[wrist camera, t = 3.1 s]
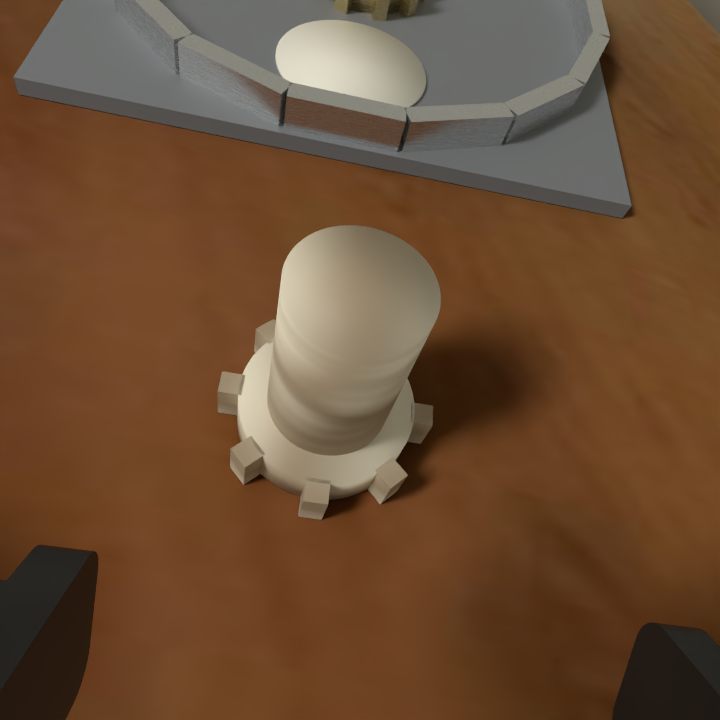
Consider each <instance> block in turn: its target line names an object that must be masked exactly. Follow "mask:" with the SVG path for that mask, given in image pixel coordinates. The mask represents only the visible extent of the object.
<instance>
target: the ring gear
mask: <svg viewBox="0 0 720 720" xmlns="http://www.w3.org/2000/svg"><path fill="white" fill-rule="evenodd" d="M561 2H562V3H563V4H564V6H565V7H566V8H567V9H568V11H569V12H570V17H571V22H572V27H573V32H574V38H575V43H576V48H577V53H578V59H577V60H576V62H575V64H574V66H573V67H572V69H571V71H570V72H569V74H568V75H565V76H563V77H561V78H559V79H556V80H554V81H552V82H550V83H547V84H545V85H543V86H541V87H538V88H536V89H534V90H532V91H529V92H527V93H525V94H523V95H520V96H518V97H516V98H514V99H511V100H509V101H507V102H504V103H486V104H464V105H442V106H420V107H402V106H398V105H393V104H388V103H384V102H379V101H375V100H370V99H365V98H361V97H356V96H352V95H347V94H342V93H338V92H333V91H329V90H324V89H319V88H315V87H310V86H306V85H301V84H297V83H292V82H290V81H288V80H286V79H284V78H282V77H280V76H278V75H276V74H274V73H272V72H270V71H268V70H266V69H264V68H262V67H260V66H258V65H256V64H254V63H252V62H250V61H247V60H245V59H243V58H241V57H239V56H237V55H235V54H233V53H231V52H229V51H227V50H225V49H223V48H221V47H219V46H217V45H215V44H213V43H211V42H209V41H207V40H205V39H203V38H201V37H199V36H197V35H195V34H193V33H192V32H191V31H190V30H189V29H188V28H187V27H186V26H185V25H184V24H183V23H182V22H181V21H180V20H179V19H178V18H177V17H176V16H175V15H174V14H173V13H172V12H171V11H170V10H169V9H168V8H167V7H166V6H165V5H164V4H163V3H162V2H161V1H160V0H114V5H115V9H117V13H118V14H119V15H120V16H121V17H122V18H123V19H124V20H125V21H126V22H127V23H128V24H129V25H130V26H131V27H132V28H133V29H134V31H135V32H136V33H137V34H138V35H139V36H140V37H141V38H142V39H143V40H144V41H145V42H146V43H147V44H148V45H149V46H150V47H151V48H152V49H153V50H154V51H155V52H156V54H157V55H158V56H159V57H160V58H161V59H162V60H163V61H164V62H165V63H166V64H167V65H168V66H169V67H170V68H171V69H172V70H173V71H174V72H175V73H176V74H178V73H180V77H181V78H183V79H185V80H187V81H189V82H191V83H193V84H195V85H197V86H199V87H201V88H203V89H205V90H207V91H209V92H211V93H213V94H215V95H217V96H219V97H221V98H223V99H225V100H227V101H229V102H231V103H233V104H235V105H237V106H239V107H241V108H243V109H245V110H247V111H249V112H250V113H252V114H254V115H256V116H258V117H260V118H262V119H264V120H266V121H268V122H270V123H272V124H274V125H276V126H278V127H279V126H280V125H281V124H282V123H283V122H284V129H289V130H293V131H298V132H303V133H308V134H313V135H317V136H322V137H327V138H332V139H336V140H341V141H346V142H351V143H356V144H360V145H365V146H370V147H375V148H379V149H384V150H389V151H394V152H397V151H398V147H400V149H401V151H402V152H417V151H431V150H445V149H460V148H474V147H488V146H501V144H502V143H503V144H507V143H509V142H511V141H513V140H515V139H517V138H519V137H521V136H523V135H525V134H527V133H529V132H531V131H533V130H535V129H537V128H540V127H542V126H544V125H546V124H548V123H550V122H552V121H554V120H556V119H558V118H560V117H562V116H564V115H566V114H568V113H569V111H571V110H572V108H573V106H574V104H575V102H576V101H577V99H578V97H579V95H580V93H581V92H582V90H583V88H584V86H585V84H586V82H587V81H588V79H589V77H590V75H591V73H592V71H593V69H594V67H595V66H596V64H597V62H598V60H599V58H600V56H601V54H602V53H603V51H604V49H605V47H606V45H607V43H608V41H609V39H610V34H609V30H608V26H607V22H606V18H605V14H604V10H603V6H602V1H601V0H561Z"/></svg>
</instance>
